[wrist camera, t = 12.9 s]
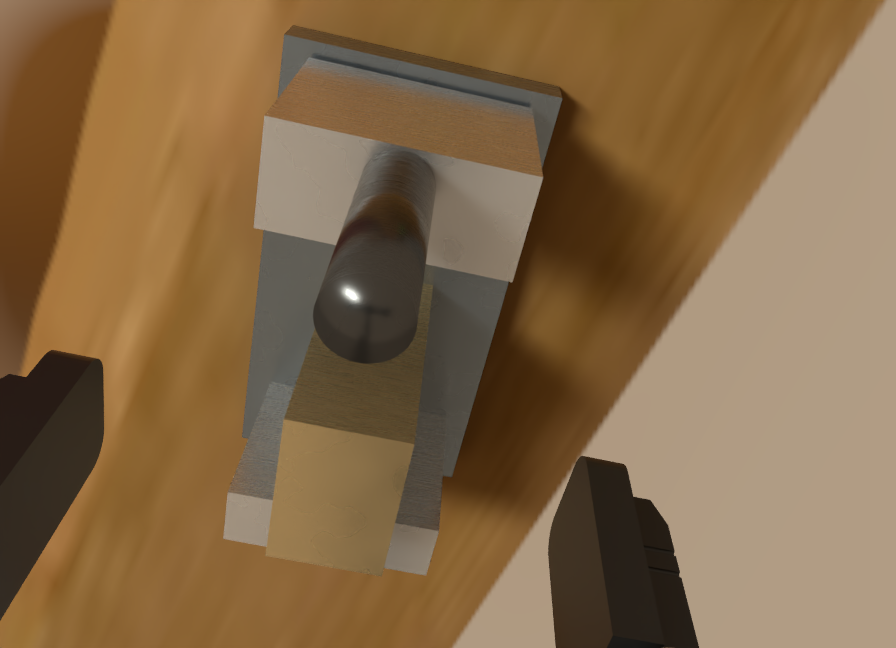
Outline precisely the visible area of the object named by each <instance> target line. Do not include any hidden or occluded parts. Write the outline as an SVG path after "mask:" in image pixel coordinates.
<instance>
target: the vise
mask: <svg viewBox="0 0 896 648" xmlns="http://www.w3.org/2000/svg"><path fill="white" fill-rule="evenodd" d="M309 57H311V58H315V59H319V60H324V61H328V62H332V63H337V64H341V65H346V66H350V67H354V68H359V69H363V70H367V71H372V72H376V73H381V74H385V75H389V76H394V77H398V78H402V79H407V80H411V81H416V82H420V83H424V84H429V85H433V86H437V87H442V88H446V89H451V90H455V91H459V92H464V93H468V94H472V95H477V96H481V97H486V98H490V99H494V100H499V101H503V102H508V103H512V104H516V105H521V106H525V107H529V108H532V111H533V117H534V123H535V129H536V135H537V142H538V148H539V154H540V160H541V166H542V167H543V163H544V160H545V157H546V153H547V150H548V146H549V143H550V140H551V136H552V133H553V129H554V126H555V122H556V119H557V116H558V112H559V109H560V105H561V102H562V95H561V91H560V87H558V86H554V85H549V84H545V83H541V82H536V81H532V80H528V79H523V78H519V77H515V76H510V75H506V74H502V73H497V72H493V71H489V70H484V69H480V68H476V67H472V66H467V65H463V64H459V63H454V62H450V61H446V60H441V59H437V58H433V57H428V56H424V55H420V54H415V53H411V52H407V51H402V50H398V49H394V48H389V47H385V46H381V45H376V44H372V43H368V42H363V41H359V40H355V39H350V38H346V37H342V36H337V35H333V34H329V33H324V32H320V31H316V30H311V29H307V28H303V27H298V26H294V25H293V26H292V27H291V28H290V29H289V30H288V31H287V32H286V33H285V34H284V43H283V52H282V62H281V71H280V81H279V90H278V98H279V96H280V95H281V94H282V92H283V91H284V90H285V88H286V87H287V86H288V85H289V83H290V82H291V81H292V79H293V78H294V77H295V75H296V74H297V73H298V72H299V70H300V69H301V68H302V66H303V65H304V64H305V62H306V61H307V60H308V59H309ZM335 246H336V245H333V244H328V243H323V242H319V241H314V240H309V239H304V238H300V237H295V236H290V235H285V234H281V233H276V232H271V231H266V230H264V233H263V243H262V252H261V262H260V271H259V281H258V290H257V300H256V309H255V319H254V328H253V338H252V347H251V357H250V366H249V376H248V385H247V395H246V404H245V414H244V424H243V433H242V437H243V438H248V442H247V444H246V447H245V449H244V452H243V455H242V457H241V460H240V462H239V465H238V467H237V470H236V473H235V475H234V478H233V480H232V483H231V485H230V488H229V491H228V496H227V506H226V517H225V527H224V537H223V539H227V540H233V541H238V542H244V543H249V544H255V545H260V546H266V547H267V540H268V533H269V525H270V518H271V510H272V503H273V495H274V488H275V480H276V473H277V465H278V458H279V450H280V443H281V435H282V428H283V420H284V417H285V414H286V411H287V408H288V405H289V402H290V399H291V396H292V393H293V390H294V388H295V385H296V382H297V379H298V376H299V373H300V370H301V367H302V364H303V361H304V358H305V355H306V353H307V350H308V347H309V344H310V341H311V338H312V335H313V332H314V329H315V326H314V322H313V309H314V305H315V302H316V299H317V296H318V294H319V291H320V288H321V285H322V282H323V280H324V277H325V274H326V271H327V269H328V266H329V263H330V260H331V258H332V255H333V252H334V249H335ZM423 283H424V284H429V285H433V290H432V299H431V307H430V316H429V325H428V333H427V342H426V350H425V359H424V367H423V376H422V385H421V393H420V402H419V410H418V419H417V427H416V436H415V444H414V448H413V452H412V456H411V461H410V465H409V469H408V473H407V477H406V481H405V485H404V489H403V493H402V497H401V501H400V505H399V509H398V513H397V517H396V521H395V525H394V529H393V533H392V537H391V541H390V545H389V549H388V553H387V557H386V561H385V565H384V568H387V569H393V570H399V571H404V572H410V573H415V574H421V575H426V573H427V570H428V567H429V563H430V560H431V557H432V553H433V550H434V546H435V543H436V540H437V536H438V533H439V523H440V508H441V494H442V479H443V476H448V477H452V475H453V471H454V468H455V465H456V461H457V458H458V454H459V451H460V447H461V444H462V441H463V437H464V434H465V430H466V427H467V424H468V420H469V417H470V413H471V410H472V406H473V403H474V400H475V396H476V393H477V389H478V386H479V382H480V379H481V376H482V372H483V369H484V365H485V362H486V358H487V355H488V352H489V348H490V345H491V341H492V338H493V335H494V331H495V328H496V324H497V321H498V317H499V314H500V311H501V307H502V304H503V300H504V297H505V293H506V290H507V287H508V283H509V282H508V281H503V280H499V279H494V278H489V277H484V276H480V275H475V274H470V273H465V272H461V271H456V270H451V269H446V268H442V267H437V266H432V265H428V264H426V265H425V273H424V280H423Z"/></svg>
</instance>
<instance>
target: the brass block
mask: <svg viewBox="0 0 896 648" xmlns="http://www.w3.org/2000/svg"><path fill="white" fill-rule="evenodd" d="M432 290H433V285H429V284H424V283H423V287H422V294H421V301H420V308H419V316H418V323H417V330H416V333H415V337H414V339H413V341H412V342H411V344H410V345H409V347H408V348H407V349H406V350H405V351H404V352H403V353H401V354H400V355H398V356H397V357H395V358H393V359H391V360H388V361H385V362H381V363H374V364H363V363H357V362H353V361H349V360H347V359H344V358H342V357H340V356H338V355H337V354H335V353H334V352H332V351H331V350H330V349H329V348H328V347H327V346H326V345H325V344H324V343H323V342H322V341H321V339H320V338H319V336H318V334H317V332H316V329H314V332H313V335H312V338H311V341H310V344H309V347H308V350H307V353H306V355H305V358H304V361H303V364H302V367H301V370H300V373H299V376H298V379H297V382H296V385H295V388H294V390H293V393H292V396H291V399H290V402H289V405H288V408H287V411H286V414H285V417H284V420H283V428H282V435H281V443H280V450H279V458H278V465H277V473H276V480H275V488H274V495H273V503H272V510H271V518H270V525H269V533H268V540H267V547H266V555H265V556H270V557H275V558H281V559H287V560H292V561H298V562H304V563H309V564H315V565H320V566H326V567H332V568H337V569H343V570H349V571H354V572H360V573H365V574H371V575H377V576H382V574H383V569H384V565H385V561H386V557H387V553H388V549H389V545H390V541H391V537H392V533H393V529H394V525H395V521H396V517H397V513H398V509H399V505H400V501H401V497H402V493H403V489H404V485H405V481H406V477H407V473H408V469H409V465H410V461H411V456H412V452H413V448H414V444H415V436H416V427H417V419H418V410H419V402H420V393H421V385H422V376H423V367H424V359H425V350H426V342H427V333H428V325H429V316H430V307H431V299H432Z"/></svg>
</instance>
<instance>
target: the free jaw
mask: <svg viewBox="0 0 896 648" xmlns="http://www.w3.org/2000/svg"><path fill="white" fill-rule="evenodd" d="M542 180H543V173H542V166H541V160H540V154H539V148H538V142H537V135H536V129H535V123H534V117H533V111H532V108H529V107H525V106H521V105H516V104H512V103H508V102H503V101H499V100H494V99H490V98H486V97H481V96H477V95H472V94H468V93H464V92H459V91H455V90H451V89H446V88H442V87H437V86H433V85H429V84H424V83H420V82H416V81H411V80H407V79H402V78H398V77H394V76H389V75H385V74H381V73H376V72H372V71H367V70H363V69H359V68H354V67H350V66H346V65H341V64H337V63H332V62H328V61H324V60H319V59H315V58H311V57H309V59H308V60H307V61H306V62H305V64H304V65H303V66H302V68H301V69H300V70H299V72H298V73H297V74H296V75H295V77H294V78H293V79H292V81H291V82H290V83H289V85H288V86H287V87H286V88H285V90H284V91H283V92H282V94H281V95H280V96H279V98H278V99H277V100H276V101H275V103H274V104H273V105H272V107H271V108H270V109H269V111H268V112H267V113H266V114H265V117H264V127H263V137H262V147H261V158H260V168H259V178H258V188H257V199H256V209H255V219H254V228H257V229H262V230H266V231H271V232H276V233H281V234H285V235H290V236H295V237H300V238H304V239H309V240H314V241H319V242H323V243H328V244H333V245H336V246H335V249H334V252H333V255H332V258H331V260H330V263H329V266H328V269H327V271H326V274H325V277H324V280H323V282H322V285H321V288H320V291H319V294H318V296H317V299H316V302H315V305H314V309H313V322H314V326H315V329H316V332H317V334H318V336H319V338H320V339H321V341H322V342H323V343H324V344H325V345H326V346H327V347H328V348H329V349H330V350H331V351H332V352H334V353H335V354H337V355H338V356H340V357H342V358H344V359H347V360H349V361H353V362H357V363H363V364H374V363H381V362H385V361H388V360H391V359H393V358H395V357H397V356H398V355H400V354H401V353H403V352H404V351H405V350H406V349H407V348H408V347H409V345H410V344H411V342H412V341H413V339H414V337H415V333H416V330H417V323H418V316H419V308H420V301H421V294H422V287H423V280H424V273H425V265H426V264H428V265H432V266H437V267H442V268H446V269H451V270H456V271H461V272H465V273H470V274H475V275H480V276H484V277H489V278H494V279H499V280H503V281H508V282H513V279H514V275H515V272H516V268H517V265H518V262H519V258H520V255H521V251H522V248H523V245H524V241H525V238H526V234H527V231H528V228H529V224H530V221H531V217H532V214H533V211H534V207H535V204H536V201H537V197H538V194H539V190H540V187H541V184H542Z"/></svg>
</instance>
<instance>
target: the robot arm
mask: <svg viewBox="0 0 896 648" xmlns="http://www.w3.org/2000/svg"><path fill="white" fill-rule="evenodd" d="M103 436H104V395H103V365H102V362H101V361H100V360H99V359H96V358H91V357H86V356H81V355H76V354H71V353H66V352H61V351H56V350H51V351H49V352H47V353H46V354H45V355H44V357H43V358H42V359H41V360H40V361H39V363H38V364H37V365H36V366H35V367H34V369H33V370H32V371H31V372H30V373H29V375H28V376H27V377H22V376H17V375H12V374H8V375H7V376H5V377H3V378H1V379H0V620H1V618H2V617H3V615H4V614H5V612H6V610H7V609H8V607H9V605H10V604H11V602H12V600H13V599H14V597H15V596H16V594H17V592H18V591H19V589H20V587H21V586H22V584H23V583H24V581H25V579H26V578H27V576H28V574H29V573H30V571H31V569H32V568H33V566H34V565H35V563H36V561H37V560H38V558H39V556H40V555H41V553H42V551H43V550H44V548H45V547H46V545H47V543H48V542H49V540H50V538H51V537H52V535H53V533H54V532H55V530H56V529H57V527H58V525H59V524H60V522H61V520H62V519H63V517H64V516H65V514H66V512H67V511H68V509H69V507H70V506H71V504H72V502H73V501H74V499H75V498H76V496H77V494H78V493H79V491H80V489H81V488H82V486H83V484H84V483H85V481H86V480H87V478H88V476H89V475H90V473H91V471H92V470H93V468H94V466H95V464H96V462H97V459H98V457H99V454H100V450H101V447H102V442H103ZM548 550H549V551H548V556H549V568H550V581H551V594H552V604H553V605H552V606H553V618H554V631H555V643H556V648H699V646H698V642H697V638H696V634H695V630H694V626H693V622H692V618H691V614H690V610H689V606H688V602H687V598H686V595H685V590H684V587H683V583H682V579H681V578H680V577H679V573H680V571H679V567H678V563H677V559H676V556H674V547H673V543H672V539H671V535H670V531H669V528H668V525H667V523H666V522H665V520H664V519H663V517H662V516H661V515H660V513H659V512H658V510H657V509H656V508H655V506H654V505H653V503H652V502H651V501H650V500H647V499H642V498H637V497H633V494H632V489H631V484H630V480H629V475H628V471H627V468H626V466H625V465H624V464H620V463H615V462H610V461H605V460H600V459H595V458H590V457H585V456H581V457H580V458H579V459H578V460H577V462H576V464H575V467H574V469H573V472H572V474H571V477H570V479H569V482H568V484H567V487H566V489H565V492H564V494H563V497H562V499H561V502H560V504H559V507H558V509H557V512H556V514H555V517H554V520H553V523H552V527H551V531H550V537H549V548H548Z"/></svg>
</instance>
